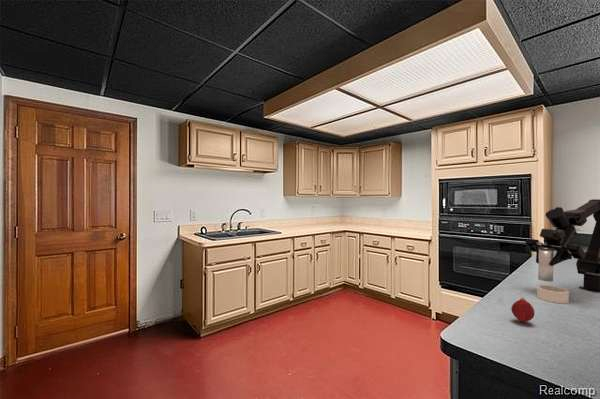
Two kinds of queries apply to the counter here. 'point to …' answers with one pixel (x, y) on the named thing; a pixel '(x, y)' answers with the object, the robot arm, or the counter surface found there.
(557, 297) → the bowl
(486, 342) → the counter surface
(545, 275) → the canister
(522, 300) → the onion
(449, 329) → the counter surface
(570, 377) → the counter surface
